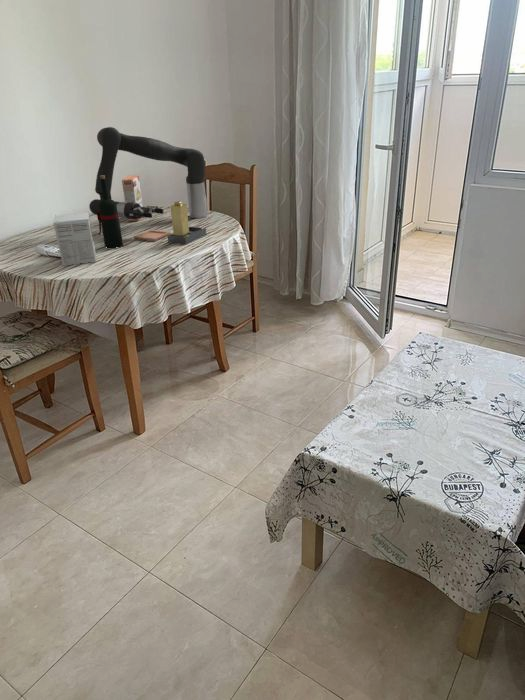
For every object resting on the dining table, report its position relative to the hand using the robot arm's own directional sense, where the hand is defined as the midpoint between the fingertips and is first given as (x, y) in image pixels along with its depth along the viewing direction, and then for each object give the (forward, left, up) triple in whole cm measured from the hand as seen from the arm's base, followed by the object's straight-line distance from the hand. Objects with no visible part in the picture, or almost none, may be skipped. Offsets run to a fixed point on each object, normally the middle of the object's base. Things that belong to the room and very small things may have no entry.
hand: (157, 213), depth 233 cm
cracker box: (-29, -36, -12) cm, 48 cm away
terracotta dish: (-1, -5, -12) cm, 13 cm away
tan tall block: (0, +12, -12) cm, 17 cm away
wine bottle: (+17, -14, -12) cm, 25 cm away
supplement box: (+37, -14, -12) cm, 41 cm away
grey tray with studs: (-4, +12, -12) cm, 17 cm away
